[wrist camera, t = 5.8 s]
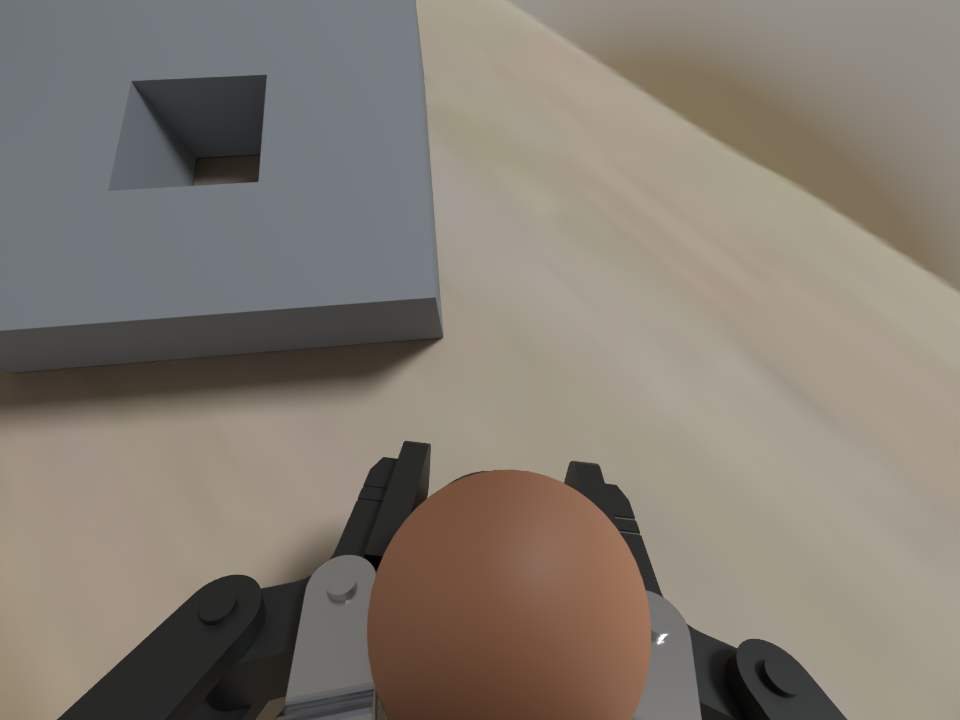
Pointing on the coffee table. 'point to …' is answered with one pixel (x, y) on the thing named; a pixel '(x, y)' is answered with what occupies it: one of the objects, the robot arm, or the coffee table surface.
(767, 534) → the coffee table surface
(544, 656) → the cherry peg
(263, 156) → the slate socket board
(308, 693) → the robot arm
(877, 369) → the coffee table surface
